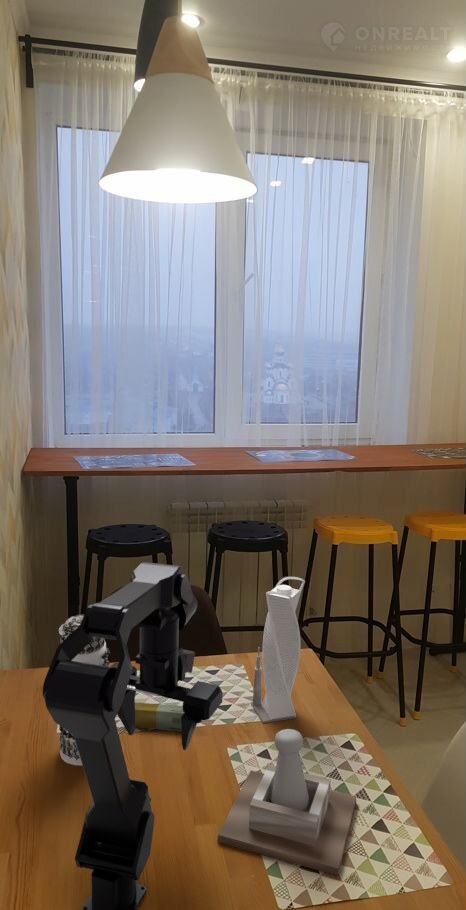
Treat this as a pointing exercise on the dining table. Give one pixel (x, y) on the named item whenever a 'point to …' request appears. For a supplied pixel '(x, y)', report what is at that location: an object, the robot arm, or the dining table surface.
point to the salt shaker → (289, 772)
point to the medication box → (158, 716)
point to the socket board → (291, 823)
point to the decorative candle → (88, 655)
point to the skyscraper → (278, 655)
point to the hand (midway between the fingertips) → (158, 741)
